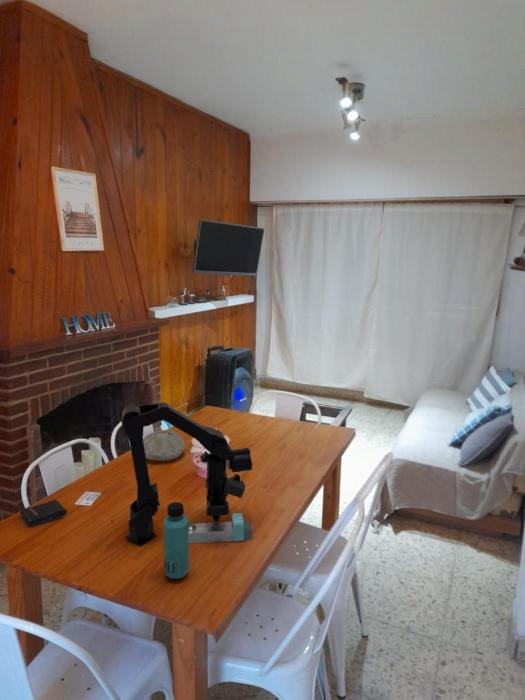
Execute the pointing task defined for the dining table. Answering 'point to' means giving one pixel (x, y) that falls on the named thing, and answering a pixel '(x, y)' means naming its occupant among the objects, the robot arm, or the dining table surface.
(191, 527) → the tongs body
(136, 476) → the robot arm
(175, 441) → the grey rounded lump
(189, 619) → the dining table surface
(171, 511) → the beverage bottle
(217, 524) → the tongs jaw
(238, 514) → the lock collar
